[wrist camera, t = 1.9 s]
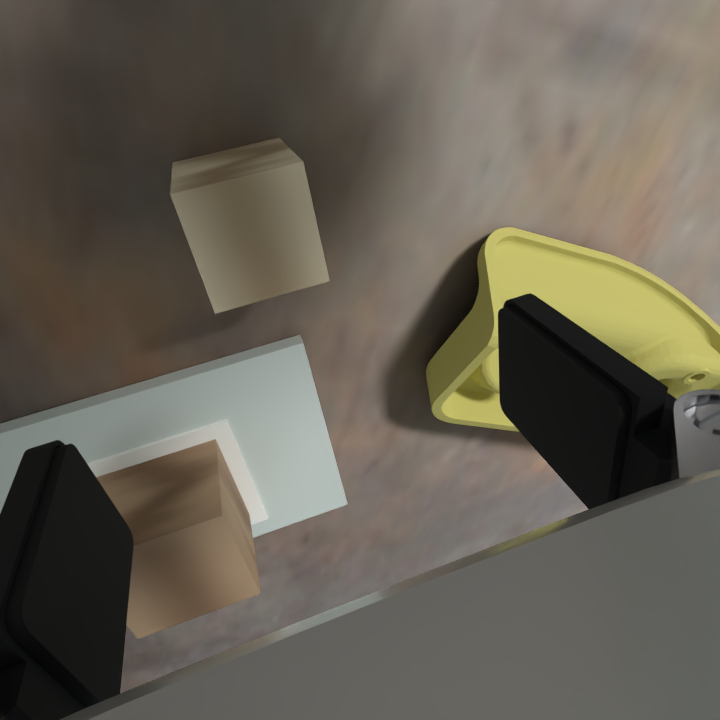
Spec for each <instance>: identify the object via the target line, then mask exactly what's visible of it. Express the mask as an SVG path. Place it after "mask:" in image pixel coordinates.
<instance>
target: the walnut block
mask: <svg viewBox="0 0 720 720" xmlns="http://www.w3.org/2000/svg"><path fill="white" fill-rule="evenodd" d="M96 478H97V479H98V481H99V482H100V484H101V485H102V487H103V489H104V490H105V492H106V493H107V495H108V496H109V498H110V499H111V501H112V502H113V504H114V505H115V507H116V508H117V510H118V511H119V513H120V514H121V516H122V517H123V519H124V520H125V522H126V523H127V525H128V526H129V528H130V530H131V533H132V536H133V542H134V547H133V558H132V568H131V579H130V590H129V601H128V611H127V622H126V625H127V627H128V628H129V629H130V630H131V631H132V633H133V634H134V635H135V636H136V638H137V639H139V638H142V637H145V636H147V635H150V634H153V633H155V632H158V631H161V630H164V629H166V628H169V627H172V626H174V625H177V624H180V623H182V622H185V621H188V620H191V619H193V618H196V617H199V616H201V615H204V614H207V613H210V612H212V611H215V610H218V609H220V608H223V607H226V606H228V605H231V604H234V603H237V602H239V601H242V600H245V599H247V598H250V597H253V596H255V595H258V594H261V592H260V585H259V578H258V571H257V564H256V557H255V550H254V542H253V535H252V528H251V521H250V515H249V512H248V510H247V508H246V506H245V503H244V501H243V499H242V497H241V494H240V492H239V490H238V488H237V486H236V483H235V481H234V479H233V477H232V474H231V472H230V470H229V468H228V465H227V463H226V461H225V459H224V457H223V454H222V452H221V450H220V448H219V445H218V443H217V441H216V439H214V440H211V441H208V442H205V443H202V444H199V445H196V446H192V447H189V448H186V449H183V450H180V451H177V452H174V453H171V454H167V455H164V456H161V457H158V458H155V459H152V460H149V461H146V462H143V463H139V464H136V465H133V466H130V467H127V468H124V469H121V470H118V471H114V472H111V473H108V474H105V475H102V476H99V477H96Z"/></svg>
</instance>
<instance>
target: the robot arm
mask: <svg viewBox="0 0 720 720" xmlns="http://www.w3.org/2000/svg"><path fill="white" fill-rule="evenodd" d="M498 349H499V397H500V405H501V408H502V411H503V412H504V414H505V415H506V417H507V418H508V419H509V420H510V421H511V422H512V423H513V425H514V426H515V427H516V428H517V429H518V430H519V431H520V432H521V434H522V435H523V436H524V437H525V438H526V439H527V440H528V441H529V443H530V444H531V445H532V446H533V447H534V448H535V449H536V450H537V451H538V453H539V454H540V455H541V456H542V457H543V458H544V459H545V460H546V462H547V463H548V464H549V465H550V466H551V467H552V468H553V469H554V471H555V472H556V473H557V474H558V475H559V476H560V477H561V478H562V480H563V481H564V482H565V483H566V484H567V485H568V486H569V487H570V488H571V490H572V491H573V492H574V493H575V494H576V495H577V496H578V497H579V499H580V500H581V501H582V502H583V503H584V504H585V505H586V506H587V508H588V509H589V510H587V511H584V512H581V513H578V514H576V515H573V516H570V517H568V518H565V519H563V520H560V521H557V522H555V523H552V524H550V525H547V526H544V527H542V528H539V529H537V530H534V531H531V532H529V533H526V534H524V535H521V536H518V537H516V538H513V539H511V540H508V541H505V542H503V543H500V544H498V545H495V546H492V547H490V548H487V549H485V550H482V551H479V552H477V553H474V554H472V555H469V556H466V557H464V558H461V559H459V560H456V561H454V562H451V563H448V564H446V565H443V566H441V567H438V568H436V569H433V570H430V571H428V572H425V573H423V574H420V575H418V576H415V577H412V578H410V579H407V580H405V581H402V582H400V583H397V584H395V585H392V586H389V587H387V588H384V589H382V590H379V591H377V592H374V593H372V594H369V595H366V596H364V597H361V598H359V599H356V600H354V601H351V602H349V603H346V604H343V605H341V606H338V607H336V608H333V609H331V610H328V611H326V612H323V613H320V614H318V615H315V616H313V617H310V618H308V619H305V620H303V621H300V622H298V623H295V624H293V625H290V626H288V627H285V628H283V629H280V630H277V631H275V632H272V633H270V634H267V635H265V636H262V637H260V638H257V639H255V640H252V641H250V642H247V643H245V644H242V645H240V646H237V647H235V648H232V649H230V650H227V651H225V652H222V653H220V654H217V655H214V656H212V657H209V658H207V659H204V660H202V661H199V662H197V663H194V664H192V665H189V666H187V667H184V668H182V669H179V670H177V671H174V672H172V673H169V674H167V675H164V676H162V677H160V678H157V679H155V680H152V681H150V682H148V683H145V684H143V685H140V686H138V687H135V688H133V689H131V690H128V691H126V692H123V693H121V694H120V687H121V676H122V665H123V654H124V644H125V633H126V622H127V611H128V601H129V590H130V579H131V568H132V558H133V547H134V542H133V536H132V533H131V530H130V528H129V526H128V525H127V523H126V522H125V520H124V519H123V517H122V516H121V514H120V513H119V511H118V510H117V508H116V507H115V505H114V504H113V502H112V501H111V499H110V498H109V496H108V495H107V493H106V492H105V490H104V489H103V487H102V485H101V484H100V482H99V481H98V479H97V478H96V476H95V475H94V473H93V472H92V470H91V469H90V467H89V466H88V464H87V463H86V461H85V460H84V458H83V457H82V455H81V454H80V452H79V451H78V449H77V448H76V447H75V445H73V444H67V445H65V444H64V443H63V442H62V441H60V440H55V441H52V442H49V443H46V444H43V445H39V446H36V447H33V448H30V449H27V450H26V451H25V452H24V454H23V456H22V459H21V462H20V464H19V467H18V469H17V472H16V475H15V477H14V480H13V482H12V485H11V487H10V490H9V493H8V495H7V498H6V500H5V503H4V506H3V508H2V511H1V513H0V720H720V390H716V389H700V390H695V391H689V392H687V393H685V394H683V395H681V396H680V397H679V398H678V399H676V398H675V397H673V396H672V395H671V394H669V393H668V392H667V391H668V387H667V386H666V385H664V384H663V383H661V382H660V381H658V380H657V379H655V378H654V377H653V376H651V375H650V374H648V373H647V372H645V371H644V370H642V369H641V368H640V367H638V366H637V365H635V364H634V363H632V362H631V361H629V360H628V359H626V358H625V357H624V356H622V355H621V354H619V353H618V352H616V351H615V350H613V349H612V348H611V347H609V346H608V345H606V344H605V343H603V342H602V341H600V340H599V339H597V338H596V337H595V336H593V335H592V334H590V333H589V332H587V331H586V330H584V329H583V328H582V327H580V326H579V325H577V324H576V323H574V322H573V321H571V320H570V319H568V318H567V317H566V316H564V315H563V314H561V313H560V312H558V311H557V310H555V309H554V308H553V307H551V306H550V305H548V304H547V303H545V302H544V301H542V300H541V299H539V298H538V297H537V296H535V295H533V294H531V293H529V294H525V295H522V296H519V297H516V298H512V299H509V300H507V301H506V302H505V303H504V306H503V308H501V309H500V310H499V312H498Z"/></svg>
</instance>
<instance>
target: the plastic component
mask: <svg viewBox="0 0 720 720" xmlns="http://www.w3.org/2000/svg"><path fill="white" fill-rule="evenodd" d="M477 266H478V274H479V290H478V295H477V298H476V301H475V304H474V306H473V308H472V310H471V311H470V313H469V314H468V315H467V316H466V317H465V319H464V320H463V321H462V322H461V324H460V325H459V326H458V327H457V328H456V330H455V331H454V332H453V333H452V334H451V336H450V337H449V338H448V339H447V340H446V342H445V343H444V344H443V345H442V346H441V348H440V349H439V350H438V351H437V353H436V354H435V355H434V356H433V357H432V359H431V360H430V361H429V363H428V365H427V368H426V378H427V384H428V390H429V396H430V402H431V409H432V412H433V414H434V416H435V417H436V418H438V419H439V420H442V421H444V422H448V423H454V424H462V425H470V426H478V427H485V428H493V429H501V430H509V431H517V432H520V431H519V430H518V429H517V428H516V427H515V426H514V425H513V423H512V422H511V421H510V420H509V419H508V418H507V417H506V415H505V414H504V412H503V411H502V408H501V405H500V397H499V349H498V312H499V310H500V309H501V308H503V306H504V303H505V302H506V301H507V300H509V299H512V298H516V297H519V296H522V295H525V294H529V293H531V294H533V295H535V296H537V297H538V298H539V299H541V300H542V301H544V302H545V303H547V304H548V305H550V306H551V307H553V308H554V309H555V310H557V311H558V312H560V313H561V314H563V315H564V316H566V317H567V318H568V319H570V320H571V321H573V322H574V323H576V324H577V325H579V326H580V327H582V328H583V329H584V330H586V331H587V332H589V333H590V334H592V335H593V336H595V337H596V338H597V339H599V340H600V341H602V342H603V343H605V344H606V345H608V346H609V347H611V348H612V349H613V350H615V351H616V352H618V353H619V354H621V355H622V356H624V357H625V358H626V359H628V360H629V361H631V362H632V363H634V364H635V365H637V366H638V367H640V368H641V369H642V370H644V371H645V372H647V373H648V374H650V375H651V376H653V377H654V378H655V379H657V380H658V381H660V382H661V383H663V384H664V385H666V386H667V387H668V391H667V392H668V393H669V394H671V395H672V396H673V397H675V398H676V399H678V398H679V397H680V396H681V395H683V394H685V393H687V392H689V391H695V390H700V389H716V390H720V327H719V326H718V325H717V324H716V323H715V322H714V321H713V320H712V319H710V318H709V317H708V316H707V315H706V314H705V313H704V312H703V311H702V310H701V309H699V308H698V307H697V306H696V305H695V304H694V303H693V302H691V301H690V300H689V299H688V298H686V297H685V296H684V295H683V294H681V293H680V292H679V291H677V290H676V289H674V288H673V287H672V286H670V285H669V284H667V283H666V282H664V281H663V280H662V279H660V278H658V277H656V276H655V275H653V274H651V273H649V272H648V271H646V270H644V269H642V268H640V267H638V266H636V265H634V264H632V263H630V262H628V261H625V260H623V259H620V258H618V257H616V256H613V255H610V254H606V253H603V252H599V251H596V250H592V249H588V248H585V247H581V246H578V245H574V244H570V243H567V242H563V241H560V240H556V239H553V238H549V237H545V236H542V235H538V234H535V233H531V232H528V231H524V230H520V229H517V228H513V227H507V228H501V229H498V230H495V231H494V232H493V233H492V234H491V235H490V236H489V237H488V238H487V240H486V241H485V242H484V244H483V245H482V247H481V249H480V251H479V254H478V260H477Z"/></svg>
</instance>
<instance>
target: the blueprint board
mask: <svg viewBox="0 0 720 720" xmlns="http://www.w3.org/2000/svg"><path fill="white" fill-rule="evenodd" d="M214 439H216V441H217V443H218V445H219V448H220V450H221V452H222V454H223V457H224V459H225V461H226V463H227V465H228V468H229V470H230V472H231V474H232V477H233V479H234V481H235V483H236V486H237V488H238V490H239V492H240V494H241V497H242V499H243V501H244V503H245V506H246V508H247V510H248V512H249V515H250V521H251V528H252V535H253V537H256V536H259V535H262V534H265V533H268V532H270V531H273V530H276V529H279V528H282V527H285V526H287V525H290V524H293V523H296V522H299V521H302V520H304V519H307V518H310V517H313V516H316V515H319V514H321V513H324V512H327V511H330V510H333V509H336V508H338V507H341V506H344V505H347V501H346V497H345V493H344V490H343V486H342V482H341V479H340V475H339V471H338V468H337V464H336V460H335V457H334V453H333V449H332V446H331V442H330V439H329V435H328V431H327V428H326V424H325V420H324V417H323V413H322V409H321V406H320V402H319V398H318V395H317V391H316V387H315V384H314V380H313V376H312V373H311V369H310V366H309V362H308V358H307V355H306V351H305V347H304V344H303V341H302V338H301V336H300V335H297V336H293V337H290V338H286V339H283V340H280V341H276V342H273V343H270V344H266V345H263V346H260V347H256V348H253V349H249V350H246V351H243V352H239V353H236V354H233V355H229V356H226V357H223V358H219V359H216V360H212V361H209V362H206V363H202V364H199V365H196V366H192V367H189V368H186V369H182V370H179V371H175V372H172V373H169V374H165V375H162V376H159V377H155V378H152V379H149V380H145V381H142V382H139V383H135V384H132V385H128V386H125V387H122V388H118V389H115V390H112V391H108V392H105V393H102V394H98V395H95V396H91V397H88V398H85V399H81V400H78V401H75V402H71V403H68V404H65V405H61V406H58V407H54V408H51V409H48V410H44V411H41V412H38V413H34V414H31V415H28V416H24V417H21V418H17V419H14V420H11V421H7V422H4V423H1V424H0V513H1V511H2V508H3V506H4V503H5V500H6V498H7V495H8V493H9V490H10V487H11V485H12V482H13V480H14V477H15V475H16V472H17V469H18V467H19V464H20V462H21V459H22V456H23V454H24V452H25V451H26V450H27V449H30V448H33V447H36V446H39V445H43V444H46V443H49V442H52V441H55V440H60V441H62V442H63V443H64V444H65V445H67V444H73V445H75V447H76V448H77V449H78V451H79V452H80V454H81V455H82V457H83V458H84V460H85V461H86V463H87V464H88V466H89V467H90V469H91V470H92V472H93V473H94V475H95V476H96V477H99V476H102V475H105V474H108V473H111V472H114V471H118V470H121V469H124V468H127V467H130V466H133V465H136V464H139V463H143V462H146V461H149V460H152V459H155V458H158V457H161V456H164V455H167V454H171V453H174V452H177V451H180V450H183V449H186V448H189V447H192V446H196V445H199V444H202V443H205V442H208V441H211V440H214Z"/></svg>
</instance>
